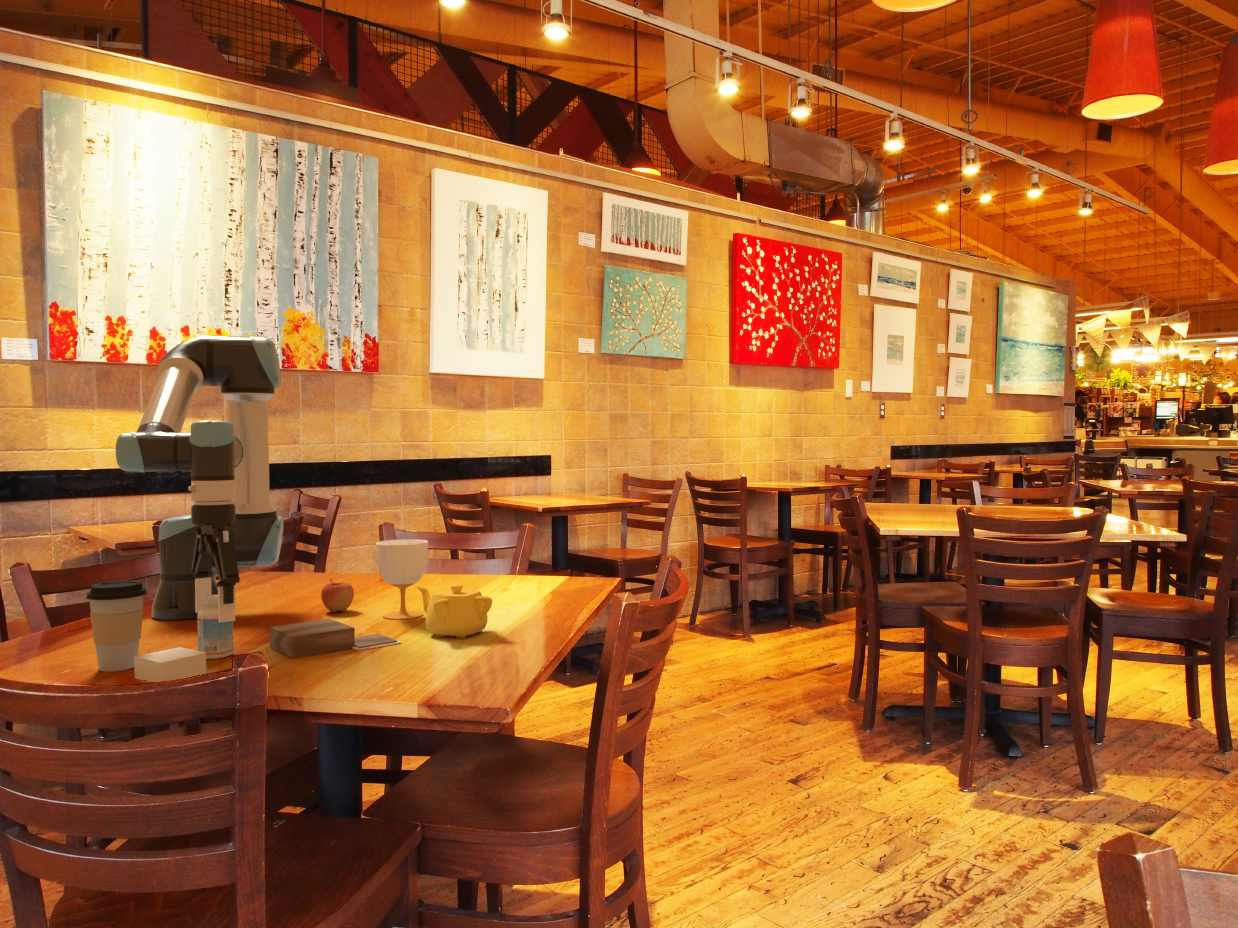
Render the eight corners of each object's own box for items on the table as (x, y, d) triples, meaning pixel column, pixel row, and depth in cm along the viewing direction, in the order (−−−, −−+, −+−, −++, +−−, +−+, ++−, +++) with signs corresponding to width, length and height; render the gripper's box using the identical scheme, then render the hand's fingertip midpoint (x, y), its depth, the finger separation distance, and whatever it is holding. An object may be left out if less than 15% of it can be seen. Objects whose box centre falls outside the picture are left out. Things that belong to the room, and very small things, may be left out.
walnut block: (269, 647, 171) (269, 626, 171) (328, 637, 179) (328, 618, 179) (293, 658, 162) (293, 636, 162) (354, 647, 170) (354, 627, 170)
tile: (337, 642, 175) (337, 639, 175) (380, 635, 181) (379, 632, 181) (357, 650, 168) (357, 647, 168) (401, 643, 174) (401, 640, 174)
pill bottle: (240, 653, 166) (239, 594, 166) (216, 660, 161) (215, 600, 160) (215, 650, 168) (214, 592, 168) (190, 658, 163) (189, 598, 162)
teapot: (426, 643, 174) (425, 592, 174) (416, 630, 186) (415, 582, 185) (493, 637, 179) (493, 587, 179) (479, 625, 191) (479, 578, 191)
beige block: (134, 679, 149) (134, 656, 149) (179, 669, 156) (179, 646, 156) (161, 686, 145) (160, 662, 145) (206, 675, 152) (205, 652, 152)
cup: (365, 618, 198) (365, 543, 198) (397, 609, 209) (396, 538, 208) (409, 622, 194) (408, 546, 193) (439, 612, 204) (438, 540, 204)
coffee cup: (104, 661, 160) (102, 580, 160) (157, 660, 161) (156, 579, 161) (76, 675, 151) (74, 588, 151) (133, 673, 152) (131, 588, 151)
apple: (358, 612, 205) (357, 578, 205) (326, 616, 201) (326, 581, 201) (348, 607, 212) (348, 574, 211) (317, 610, 207) (317, 577, 207)
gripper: (172, 501, 170) (174, 610, 171) (213, 506, 152) (215, 628, 152) (213, 500, 175) (214, 605, 176) (257, 504, 157) (259, 622, 157)
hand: (214, 616), depth 164 cm, fingers open, 13 cm apart
